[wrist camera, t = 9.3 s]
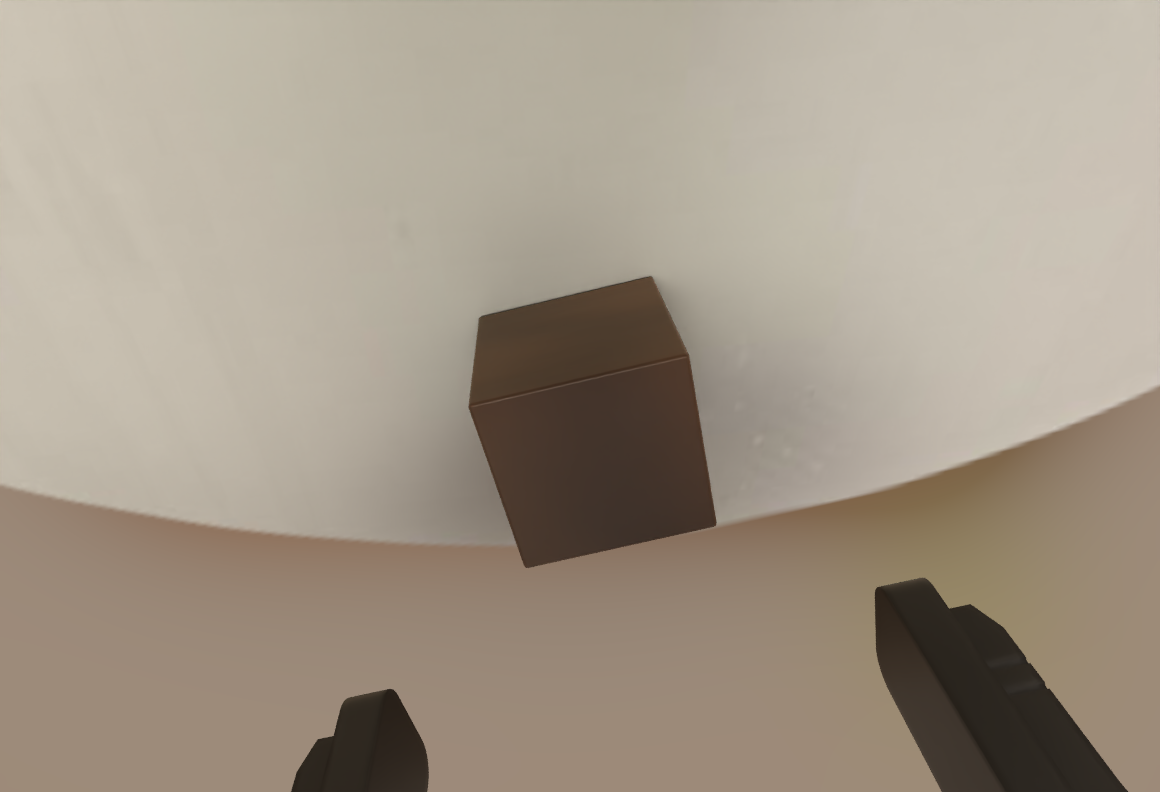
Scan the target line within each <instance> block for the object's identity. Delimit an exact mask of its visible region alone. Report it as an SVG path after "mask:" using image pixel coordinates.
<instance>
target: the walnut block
mask: <svg viewBox="0 0 1160 792" xmlns="http://www.w3.org/2000/svg"><path fill="white" fill-rule="evenodd" d="M469 410H470V413H471V416H472V419H473V421H474V424H475V427H476V430H477V433H478V436H479V438H480V441H481V444H482V447H483V450H484V453H485V456H486V458H487V461H488V464H489V467H490V470H491V473H492V475H493V478H494V481H495V484H496V487H497V490H498V492H499V495H500V498H501V501H502V504H503V507H504V510H505V512H506V515H507V518H508V521H509V524H510V527H511V529H512V532H513V535H514V538H515V541H516V544H517V546H518V549H519V552H520V555H521V558H522V560H523V563H524V566H525V567H526V568H529V567H534V566H538V565H543V564H547V563H552V562H557V561H561V560H565V559H569V558H574V557H579V556H583V555H588V554H592V553H597V552H601V551H606V550H611V549H615V548H619V547H624V546H629V545H632V544H638V543H642V542H647V541H651V540H655V539H660V538H665V537H669V536H674V535H678V534H683V533H687V532H692V531H696V530H701V529H705V528H710V527H714V526H716V523H717V522H716V516H715V510H714V504H713V498H712V492H711V486H710V479H709V473H708V467H707V461H706V455H705V449H704V443H703V437H702V431H701V425H700V418H699V412H698V406H697V400H696V394H695V388H694V382H693V376H692V370H691V364H690V357H689V354H688V352H687V350H686V348H685V346H684V344H683V341H682V339H681V337H680V335H679V333H678V331H677V329H676V326H675V324H674V322H673V320H672V318H671V316H670V314H669V311H668V309H667V307H666V305H665V303H664V301H663V299H662V297H661V294H660V292H659V290H658V288H657V286H656V284H655V282H654V279H653V278H652V277H647V278H643V279H639V280H635V281H630V282H626V283H622V284H618V285H614V286H609V287H605V288H601V289H597V290H593V291H588V292H584V293H580V294H576V295H572V296H567V297H563V298H559V299H555V300H551V301H546V302H542V303H538V304H534V305H530V306H525V307H521V308H517V309H513V310H509V311H504V312H500V313H496V314H492V315H488V316H483V317H480V318H479V324H478V332H477V340H476V349H475V357H474V365H473V373H472V382H471V390H470V398H469Z"/></svg>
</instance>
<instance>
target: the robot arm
mask: <svg viewBox="0 0 1160 792" xmlns="http://www.w3.org/2000/svg"><path fill="white" fill-rule="evenodd" d="M875 619H876V652H877V657H878V662H879V665H880V669H881V672H882V675H883V678H884V680H885V683H886V685H887V687H888V689H889V691H890V693H891V695H892V697H893V699H894V701H895V703H896V705H897V707H898V709H899V710H900V712H901V714H902V716H903V718H904V720H905V722H906V724H907V726H908V728H909V730H910V732H911V733H912V735H913V737H914V739H915V741H916V743H917V745H918V747H919V748H920V751H921V753H922V755H923V756H924V758H925V760H926V762H927V764H928V766H929V768H930V770H931V772H932V773H933V776H934V777H935V779H936V781H937V783H938V785H939V787H940V789H941V791H942V792H1128V791H1127V790H1126V789H1125V788H1124V786H1123V785H1122V784H1121V783H1120V781H1119V780H1118V779H1117V778H1116V776H1115V775H1114V774H1113V772H1112V771H1111V770H1110V768H1109V767H1108V766H1107V764H1106V763H1105V762H1104V760H1103V759H1102V758H1101V756H1100V755H1099V754H1098V752H1097V751H1096V750H1095V748H1094V747H1093V746H1092V745H1091V743H1090V742H1089V740H1088V739H1087V738H1086V736H1085V735H1084V734H1083V732H1082V731H1081V730H1080V728H1079V727H1078V726H1077V724H1076V723H1075V722H1074V721H1073V719H1072V718H1071V717H1070V715H1069V714H1068V712H1067V711H1066V710H1065V709H1064V707H1063V706H1062V705H1061V703H1060V702H1059V701H1058V699H1057V698H1056V697H1055V695H1054V694H1053V693H1052V691H1051V690H1050V689H1047V688H1046V686H1045V682H1044V681H1043V680H1042V678H1041V677H1040V675H1039V674H1038V673H1037V671H1036V670H1035V669H1034V668H1033V666H1032V665H1031V664H1030V663H1028V662H1027V660H1026V657H1025V655H1024V654H1023V653H1022V651H1021V650H1020V649H1019V648H1018V646H1017V645H1016V644H1015V642H1014V641H1013V639H1012V638H1011V637H1010V636H1009V634H1008V633H1007V632H1006V630H1005V629H1004V628H1003V627H1002V626H1001V625H999V624H998V623H996V622H995V621H994V620H992V619H991V618H989V617H988V616H986V615H985V614H983V613H982V612H981V611H979V610H978V609H976V608H975V607H974V606H972V605H971V604H969V605H965V606H960V607H956V608H950V609H949V608H948V607H947V605H946V604H945V602H944V601H943V599H942V598H941V596H940V595H939V593H938V592H937V591H936V589H935V588H934V586H933V585H932V584H931V583H930V582H929V581H928V580H927V579H925V578H918V579H914V580H909V581H904V582H899V583H895V584H890V585H886V586H881V587H877V588H876V590H875ZM428 773H429V772H428V759H427V754H426V749H425V746H424V743H423V741H422V739H421V737H420V735H419V734H418V732H417V730H416V728H415V726H414V724H413V722H412V721H411V719H410V717H409V715H408V713H407V711H406V709H405V708H404V706H403V704H402V702H401V700H400V699H399V696H398V695H397V693H396V692H395V691H394V690H392V689H387V690H383V691H379V692H373V693H369V694H364V695H359V696H355V697H350V698H347V699H346V700H345V701H344V702H343V704H342V706H341V709H340V713H339V717H338V721H337V725H336V729H335V733H334V736H332V737H328V738H322V739H318V740H317V742H316V743H315V744H314V746H313V748H312V749H311V751H310V752H309V754H308V755H307V757H306V759H305V760H304V762H303V763H302V765H301V766H300V768H299V770H298V771H297V773H296V777H295V780H294V784H293V787H292V791H291V792H427V788H428V778H429V774H428Z"/></svg>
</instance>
